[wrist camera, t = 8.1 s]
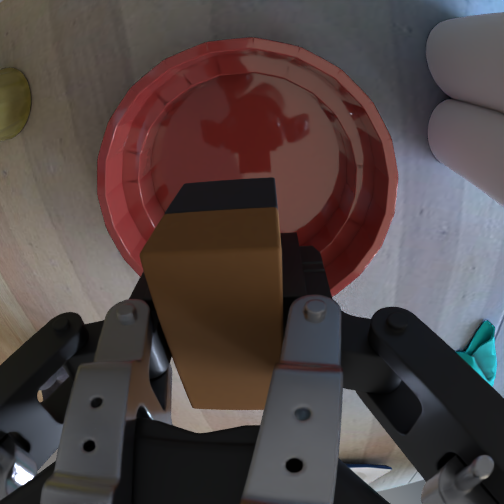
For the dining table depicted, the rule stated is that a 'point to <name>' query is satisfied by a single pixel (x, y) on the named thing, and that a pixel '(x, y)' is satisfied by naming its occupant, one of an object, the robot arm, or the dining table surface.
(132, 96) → the red bowl
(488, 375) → the cloth
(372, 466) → the plate
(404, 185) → the dining table surface
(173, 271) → the eraser
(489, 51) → the vase
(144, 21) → the dining table surface
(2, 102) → the vase
